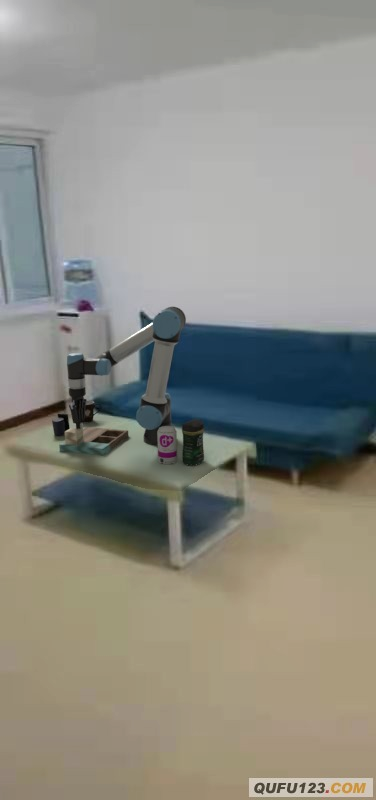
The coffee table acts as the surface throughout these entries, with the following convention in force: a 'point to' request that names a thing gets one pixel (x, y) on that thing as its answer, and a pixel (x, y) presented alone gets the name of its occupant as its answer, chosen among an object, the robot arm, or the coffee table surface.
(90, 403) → the coffee mug
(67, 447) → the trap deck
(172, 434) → the supplement can
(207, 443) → the coffee table surface
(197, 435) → the coffee jar
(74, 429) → the birch block
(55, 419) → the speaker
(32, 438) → the coffee table surface
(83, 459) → the coffee table surface
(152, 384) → the robot arm
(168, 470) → the coffee table surface
